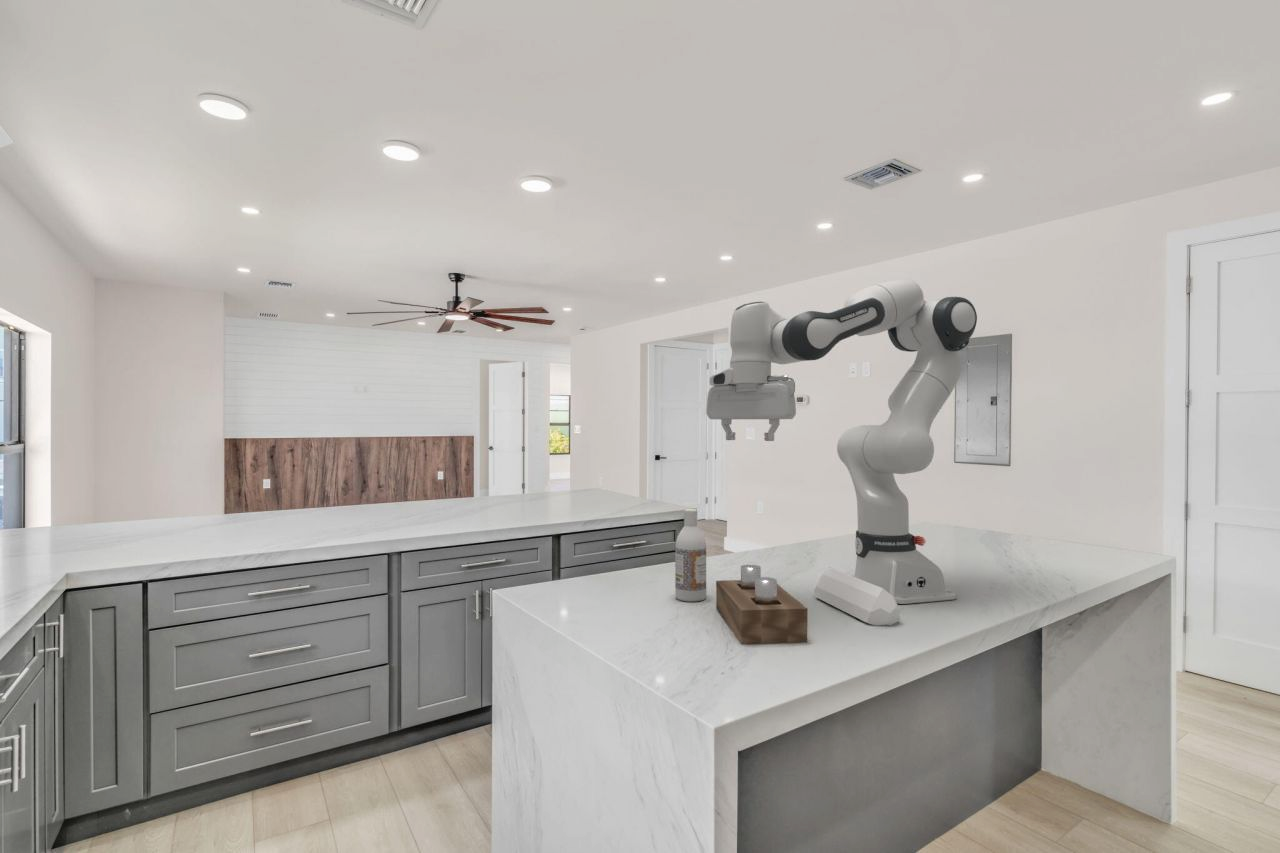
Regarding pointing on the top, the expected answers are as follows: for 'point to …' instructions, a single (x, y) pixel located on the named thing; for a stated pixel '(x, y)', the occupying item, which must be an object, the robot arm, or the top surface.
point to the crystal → (857, 598)
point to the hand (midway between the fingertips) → (749, 440)
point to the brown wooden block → (761, 615)
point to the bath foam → (690, 560)
